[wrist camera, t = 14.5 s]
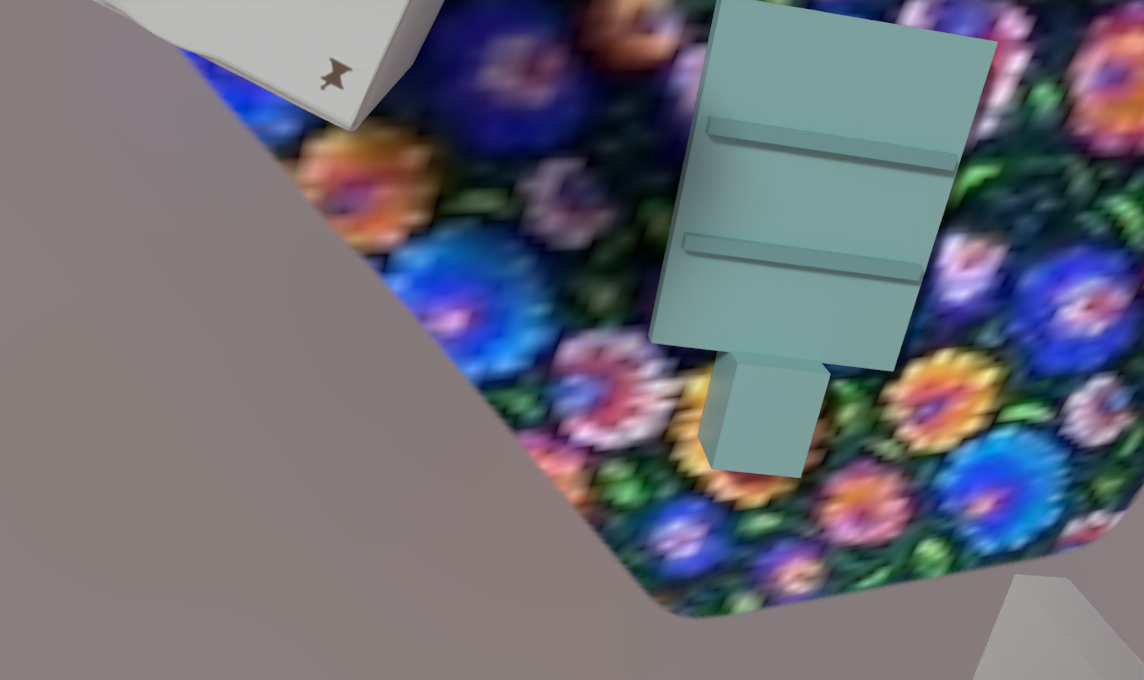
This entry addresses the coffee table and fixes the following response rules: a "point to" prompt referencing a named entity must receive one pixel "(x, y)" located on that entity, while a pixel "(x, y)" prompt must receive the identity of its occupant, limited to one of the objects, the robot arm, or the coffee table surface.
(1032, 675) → the robot arm
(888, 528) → the coffee table surface
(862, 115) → the lid
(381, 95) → the supplement box
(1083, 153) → the coffee table surface
